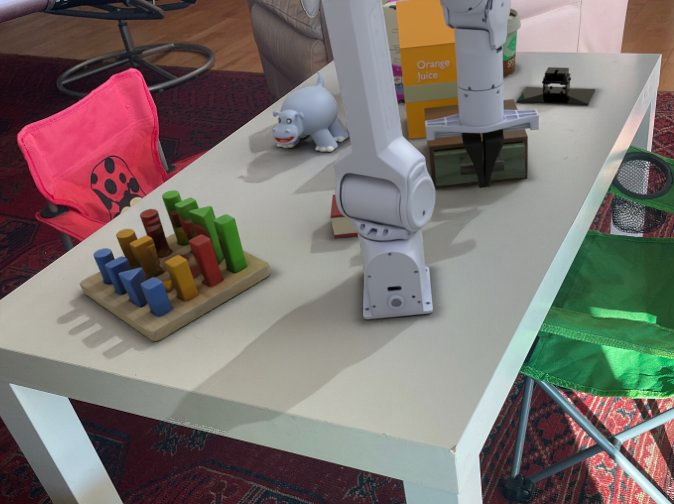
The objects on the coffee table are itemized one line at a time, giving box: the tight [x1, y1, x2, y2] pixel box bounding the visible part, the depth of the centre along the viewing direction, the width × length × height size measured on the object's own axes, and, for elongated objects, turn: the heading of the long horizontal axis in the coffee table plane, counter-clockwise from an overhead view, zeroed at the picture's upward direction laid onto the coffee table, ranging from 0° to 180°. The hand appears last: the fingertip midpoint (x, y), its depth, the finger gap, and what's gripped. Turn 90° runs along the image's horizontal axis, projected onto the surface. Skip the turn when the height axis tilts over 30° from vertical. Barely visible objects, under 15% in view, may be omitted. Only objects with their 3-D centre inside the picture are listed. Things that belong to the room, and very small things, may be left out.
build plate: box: [516, 66, 596, 107], centre depth 130 cm, size 12×7×5 cm, turn 70°
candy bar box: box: [383, 0, 406, 103], centre depth 131 cm, size 11×5×16 cm, turn 73°
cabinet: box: [424, 98, 529, 189], centre depth 112 cm, size 14×14×6 cm
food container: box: [503, 8, 522, 78], centre depth 140 cm, size 12×6×10 cm, turn 168°
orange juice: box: [396, 0, 458, 140], centre depth 119 cm, size 8×9×20 cm
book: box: [330, 194, 358, 239], centre depth 101 cm, size 6×4×3 cm
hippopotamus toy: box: [271, 71, 350, 153], centre depth 122 cm, size 11×15×10 cm
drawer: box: [434, 142, 525, 186], centre depth 109 cm, size 17×13×5 cm
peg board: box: [79, 189, 272, 342], centre depth 92 cm, size 18×17×9 cm
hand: (483, 184), depth 102 cm, fingers closed, pressing on drawer
